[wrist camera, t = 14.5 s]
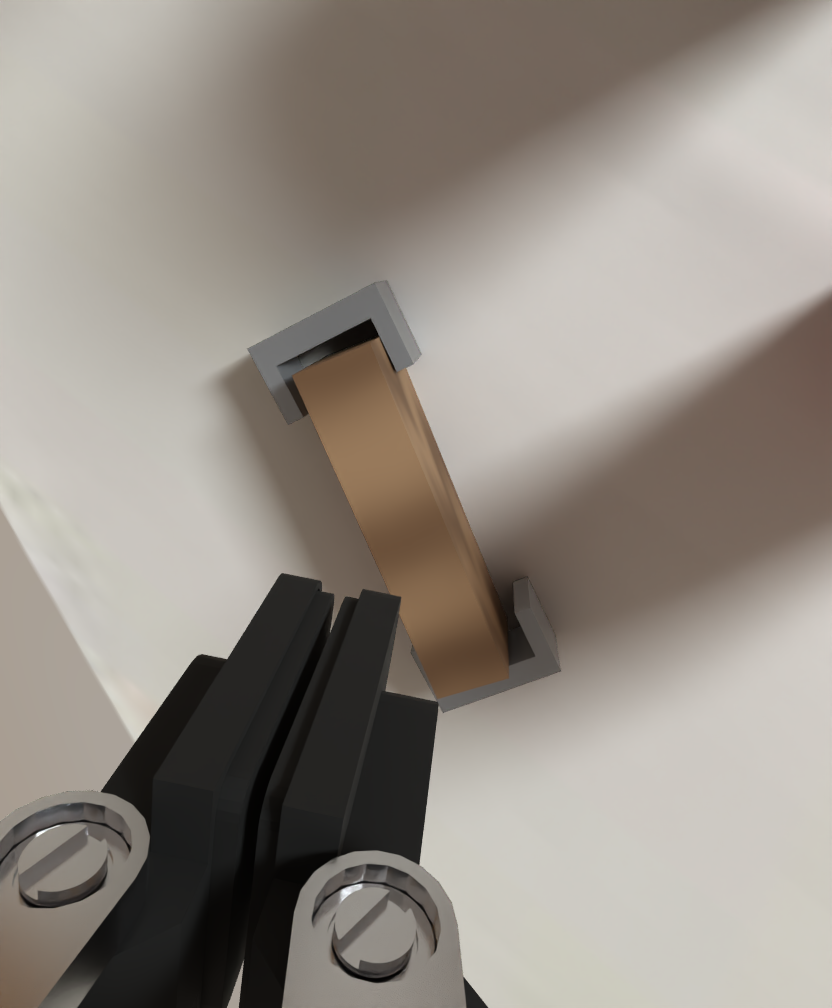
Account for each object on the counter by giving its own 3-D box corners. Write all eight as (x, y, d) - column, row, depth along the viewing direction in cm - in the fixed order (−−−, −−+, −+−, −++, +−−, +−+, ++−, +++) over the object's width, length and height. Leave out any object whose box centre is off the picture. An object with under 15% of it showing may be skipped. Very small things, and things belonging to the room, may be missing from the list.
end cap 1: (270, 340, 35) (247, 348, 31) (386, 280, 33) (374, 282, 30) (307, 409, 36) (288, 424, 32) (421, 354, 34) (413, 364, 31)
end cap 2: (555, 635, 38) (561, 671, 35) (447, 675, 39) (443, 712, 36) (527, 576, 37) (530, 607, 34) (418, 619, 39) (410, 652, 35)
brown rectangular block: (325, 356, 35) (291, 375, 29) (391, 329, 34) (369, 343, 28) (446, 635, 39) (437, 699, 33) (507, 616, 38) (508, 678, 33)
